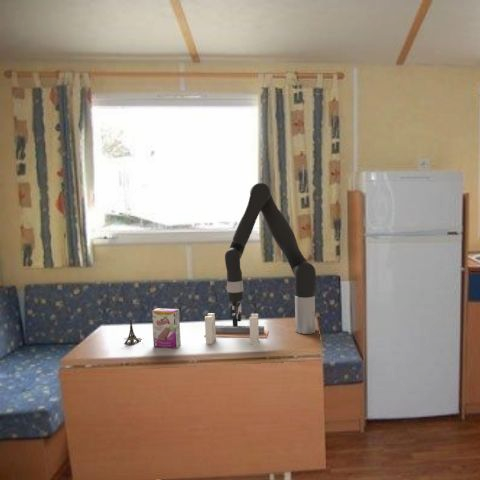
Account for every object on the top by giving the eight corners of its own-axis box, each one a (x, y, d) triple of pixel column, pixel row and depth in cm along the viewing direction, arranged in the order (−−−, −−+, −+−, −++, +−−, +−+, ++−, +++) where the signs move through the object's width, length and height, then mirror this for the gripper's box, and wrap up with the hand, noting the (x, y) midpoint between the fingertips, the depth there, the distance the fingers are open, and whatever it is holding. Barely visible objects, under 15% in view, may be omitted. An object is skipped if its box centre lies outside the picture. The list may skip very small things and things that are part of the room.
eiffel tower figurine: (144, 348, 180) (142, 319, 179) (120, 351, 178) (118, 321, 177) (145, 337, 195) (143, 310, 193) (123, 340, 193) (121, 312, 191)
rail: (264, 332, 192) (264, 326, 192) (263, 334, 189) (263, 328, 189) (210, 331, 197) (210, 325, 197) (209, 333, 194) (209, 327, 194)
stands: (259, 339, 184) (258, 313, 183) (257, 344, 178) (256, 317, 177) (209, 338, 188) (208, 313, 187) (205, 343, 182) (204, 317, 181)
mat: (268, 331, 195) (268, 330, 195) (266, 338, 186) (266, 337, 186) (209, 330, 201) (209, 329, 201) (204, 336, 191) (204, 335, 191)
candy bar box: (153, 347, 180) (151, 310, 178) (158, 343, 184) (156, 307, 183) (176, 348, 176) (174, 311, 175) (181, 344, 181) (179, 308, 180)
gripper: (240, 293, 184) (242, 328, 185) (245, 286, 198) (247, 319, 199) (224, 293, 185) (226, 328, 187) (230, 286, 199) (232, 319, 201)
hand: (237, 323), depth 193 cm, fingers open, 8 cm apart
